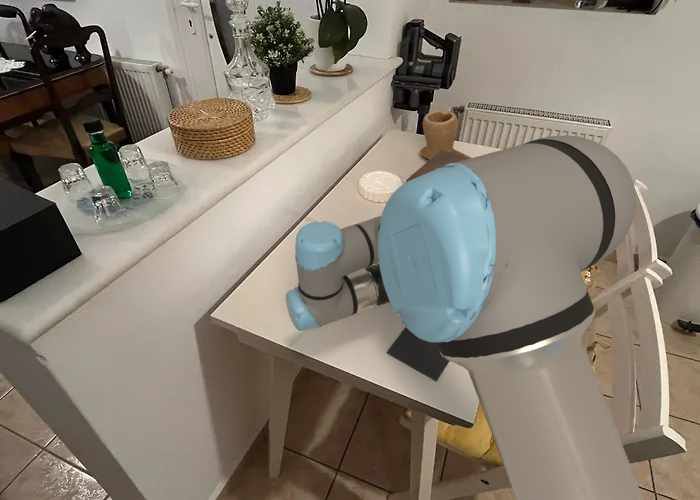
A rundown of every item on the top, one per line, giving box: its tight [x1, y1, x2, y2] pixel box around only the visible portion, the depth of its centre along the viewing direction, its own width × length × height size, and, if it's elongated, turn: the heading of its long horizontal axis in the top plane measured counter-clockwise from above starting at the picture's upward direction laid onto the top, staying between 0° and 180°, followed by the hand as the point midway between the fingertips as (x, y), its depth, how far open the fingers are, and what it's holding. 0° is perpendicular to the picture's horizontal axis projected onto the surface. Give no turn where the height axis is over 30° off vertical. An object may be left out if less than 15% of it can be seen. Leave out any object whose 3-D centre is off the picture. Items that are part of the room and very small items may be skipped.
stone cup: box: [419, 109, 472, 161], centre depth 128 cm, size 15×12×15 cm
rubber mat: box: [386, 327, 450, 382], centre depth 79 cm, size 10×10×1 cm
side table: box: [405, 150, 470, 183], centre depth 102 cm, size 18×18×15 cm
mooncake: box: [358, 170, 403, 204], centre depth 118 cm, size 12×12×4 cm
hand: (472, 254), depth 86 cm, fingers closed on soda can, 7 cm apart
